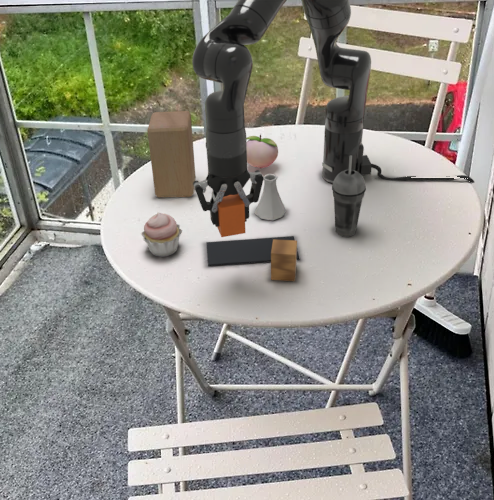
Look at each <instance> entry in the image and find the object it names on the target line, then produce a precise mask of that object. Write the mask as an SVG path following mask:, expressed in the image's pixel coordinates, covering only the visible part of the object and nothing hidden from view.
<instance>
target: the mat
mask: <svg viewBox="0 0 494 500" xmlns="http://www.w3.org/2000/svg"><path fill="white" fill-rule="evenodd" d="M273 239H275V240H296V239H295V236H294V235H289V236H288V235H287V236H273V237H261V238H259V237H258V238H247V239H246V238H245V239H233V240H231V239H230V240H219V241H218V240H217V241H206V256H207V266H208V267H219V266H233V265H249V264H262V263H263V264H264V263H271V250H272V244H273ZM300 259H301V257H300V255H299V251H298V249H297V261H300Z"/></svg>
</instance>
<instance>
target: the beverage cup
mask: <svg viewBox="0 0 494 500" xmlns="http://www.w3.org/2000/svg"><path fill="white" fill-rule="evenodd" d="M351 165H352V156H351V155H350V158H349V170H344V171H342V172H340V173H339V174H338V175H337V176H336V178H335V179H334V182H333V183H332V185H331V190H332V196H333V210H334V211H333V212H334V228H335V229H334V230H335V231H334V232H335V233H336V235H338V236H339V237H342V238H343V237H345V238H347V237H352V236H354V235H355V234H356V230H357V228H358V223H359V219H360V213H361V208H362V202H363V198H364V196H365V194H366V191H367V188H366V181H365V178H364V177H363V176H364V175H361V174H360V173H359V172H357V171H355V170H351Z"/></svg>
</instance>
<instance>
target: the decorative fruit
mask: <svg viewBox="0 0 494 500" xmlns="http://www.w3.org/2000/svg"><path fill="white" fill-rule="evenodd" d="M246 141H247V164H248V165H250V166H252V167H254V168H258V169H265V168H268V167H271V166H272V165H273V164H274V163H275V161H276V160H277V158H278V155H279V148H278V147H279V146H278V145H277V143H276V141H274V140H273V139H272V138H269V137H262V134H260V135H259V136H256V135H249V136H246Z"/></svg>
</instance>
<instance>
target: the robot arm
mask: <svg viewBox="0 0 494 500" xmlns="http://www.w3.org/2000/svg"><path fill="white" fill-rule="evenodd" d="M287 1H288V0H237V1H236V3H235V5H234V6H233V8H232V9H231V11H230V12H229V14H227V15H226V16H225V17H224V18H223V19H221V20H220V21H218V23H217V24H216V25H215V26H214V27H213V28H211V29H210V30H209V31H208V32H207V33H206V34H205V35H204V36H202V38H201V39H200V40H199V41H198V43H197V45H196V47H195V49H194V50H193V54H192V59H191V65H192V69H193V72H194V73H195V75H196V76H198V77H199V78H201V79H204V80H206V81H210V82H214V83H218V84H222V87H223V89H221V90H216V91H213V92H211V93H209V94H208V95H207V96H206V99H205V101H204V112H205V126H206V129H205V131H206V132H205V149H206V160H207V161H206V162H207V175H206V177H205V179H204V180H201V181H199V180H195V181H194V182H193V185H194V192H195V194H196V196H197V199H198V202H199V204H200V207H201V208H202V210H203V212H207V211H209V216H210V217H209V218H210V221H211V223H212V225H213V226H215V228H217V227H218V226H219V212H218V205H220V203H221V202H222V199H223V197H226V196H228V195H237V194H239V196H240V198H241V200H243V202H244V204H245V223H246V222H247V221H248V219H249V218H250V205H251V204H253V203H259V201H260V197H261V191H262V188H263V184H264V180H263V179H264V176H263V174H262V172H261V170H259V169H256V170H255V171H249V170H248V162H247V141H248V140H247V139H246V138H247V131H246V124H245V120H246V119H245V101H246V97H247V92H248V88H249V83H250V81H251V76H252V72H253V67H254V63H253V56H252V53H251V52H250V49H249V48H248V47H247V46H248V45H255V44H257V43H258V42H259V41H260V40H261V39H262V38H263V36H264V35H265V34H266V32H267V30H268V29H269V27H270V25H271V24H272V23H273V21H274V20H275V18H276V17H277V15H278V14H279V12H280V10H281V9H282V7H284V5H285V4H286V2H287ZM300 1H301V5H302V9H303V12H304V16H305V19H306V22H307V25H308V27H309V31H310V34H311V36H312V40H313V43H314V47H315V52H316V58H317V64H318V70H319V75H320V79H321V82H322V83H323V84H324V85H325V86H327V87H330V88H333V89H340V90H346V91H349V93H348V94H347V95H343V96H342V95H341V96H338V97H335V98H332V99H330V100H329V101H328V102H327V103H326V106H325V118H324V135H323V136H324V138H323V139H324V140H323V154H322V156H323V158H322V163H321V167H322V171H321V176H322V179H323V180H324V181H326V182H327V183H330V184H333V182H334V179H335V178H336V176H337V175H338V174H339V173H340V172H342V171H344V170H349V158H350V155H351V156H352V165H351V170H355V171H357V172H359V173H360V174H361V175H362V176H370V175H372V169H374V170H376V171H377V173H376V174H377V177H378V178H379V179H381V180H384V181H392V182H393V181H394V182H402V181H457V180H458V179H454V178H411V177H416V176H417V175H407V177H406V176H405V175H404V176H397V177H388V176H385V175H384V174H382V172H383V171H382V168H381V167H380V166H379V165H377V164H374V163H371V161H370V159H369V158H370V157H368V155H367V154H364V150H365V149H364V148H365V146H364V145H363V132H364V121H365V111H366V106H367V101H368V91H369V83H370V77H371V70H372V57H371V54H370V53H369V52H368V51H365V50H361V49H354V48H347V47H341V46H339V45H338V44H337V40H338V39H339V37H340V36H341V35H342V34H343V32H344V31H345V29H346V27H348V24H349V22H350V19H351V15H352V8H351V3H350V0H300ZM456 176H457V177H460V178H464V179H463V180H465V181H467V182H469V181H470V182H469V183H470V184H475V180H474V179H473V178H472V177H471V176H469V175H465V174H459V175H456ZM465 178H466V179H465ZM467 178H468V179H467ZM249 180H250V182H251V185H250V191H249V194H247V193H246V192H245V190H244V187H245V186H246V184H247V183H248V182H249ZM208 186H209V188H210V189H211V190H212V191H211V195H210V196H211V197H210V200H209V201H207V200H206V197H205V193H206V192H207V187H208Z"/></svg>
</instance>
